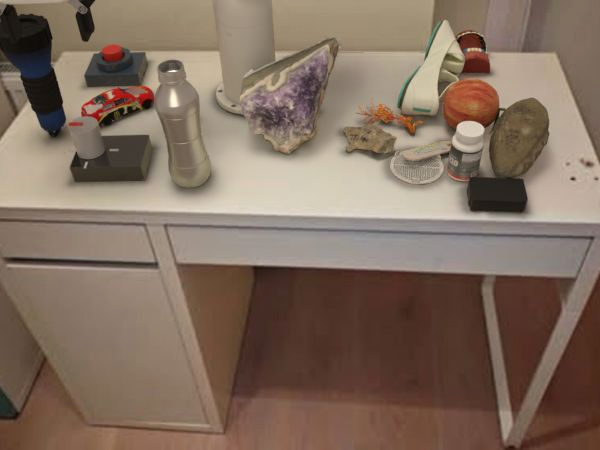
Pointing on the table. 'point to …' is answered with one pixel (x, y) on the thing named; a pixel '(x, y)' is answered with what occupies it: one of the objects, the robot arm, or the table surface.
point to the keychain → (427, 151)
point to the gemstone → (289, 95)
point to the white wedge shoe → (432, 73)
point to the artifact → (369, 138)
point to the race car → (118, 104)
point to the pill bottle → (466, 151)
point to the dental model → (474, 52)
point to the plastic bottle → (181, 125)
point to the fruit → (471, 103)
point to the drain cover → (417, 164)
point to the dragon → (389, 117)
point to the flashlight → (36, 70)
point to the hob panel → (115, 160)
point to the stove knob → (87, 137)
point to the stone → (518, 138)
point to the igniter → (116, 70)
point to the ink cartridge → (496, 194)
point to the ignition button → (112, 53)
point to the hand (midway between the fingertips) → (52, 37)
